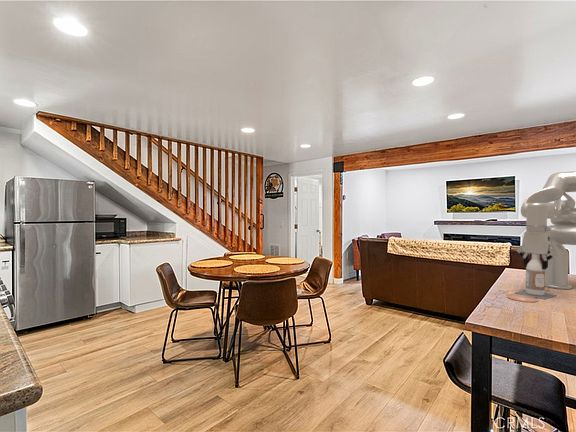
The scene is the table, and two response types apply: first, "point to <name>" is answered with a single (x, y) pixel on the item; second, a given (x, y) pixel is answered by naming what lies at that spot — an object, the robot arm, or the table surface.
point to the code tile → (545, 296)
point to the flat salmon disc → (522, 298)
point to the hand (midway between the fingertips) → (535, 267)
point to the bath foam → (535, 276)
